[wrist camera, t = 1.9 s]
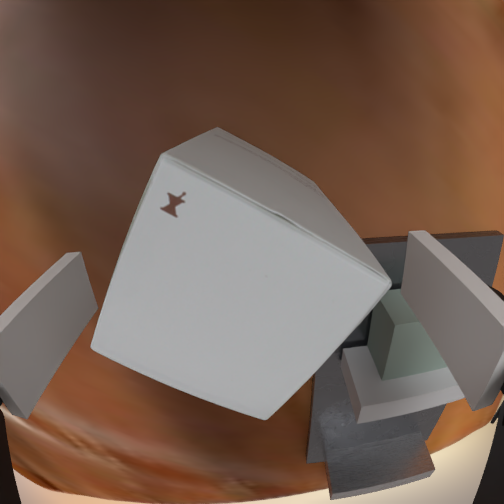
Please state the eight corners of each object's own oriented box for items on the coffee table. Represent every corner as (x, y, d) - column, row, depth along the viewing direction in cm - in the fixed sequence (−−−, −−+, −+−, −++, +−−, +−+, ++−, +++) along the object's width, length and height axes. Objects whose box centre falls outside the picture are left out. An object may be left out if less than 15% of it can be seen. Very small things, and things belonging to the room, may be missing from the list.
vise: (305, 457, 33) (311, 505, 27) (317, 241, 22) (343, 296, 15) (424, 434, 33) (440, 475, 26) (497, 230, 21) (549, 267, 15)
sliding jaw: (340, 366, 25) (356, 423, 19) (348, 294, 22) (374, 351, 16) (461, 344, 24) (490, 388, 19) (481, 278, 21) (523, 318, 16)
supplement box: (163, 223, 21) (79, 348, 10) (217, 123, 18) (159, 141, 7) (259, 273, 23) (265, 427, 11) (319, 183, 20) (402, 283, 8)
